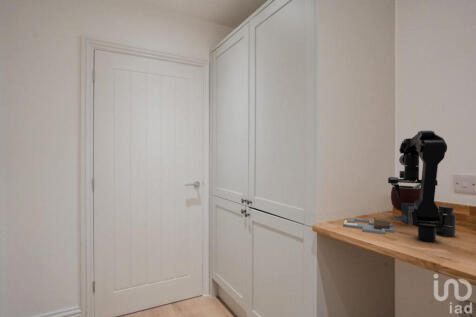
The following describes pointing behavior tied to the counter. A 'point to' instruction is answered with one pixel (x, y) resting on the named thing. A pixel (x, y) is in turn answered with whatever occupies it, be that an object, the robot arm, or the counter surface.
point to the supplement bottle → (447, 221)
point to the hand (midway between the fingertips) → (411, 200)
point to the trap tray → (366, 226)
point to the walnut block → (381, 223)
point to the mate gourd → (404, 197)
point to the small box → (407, 213)
